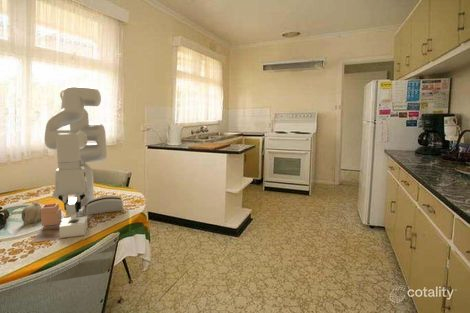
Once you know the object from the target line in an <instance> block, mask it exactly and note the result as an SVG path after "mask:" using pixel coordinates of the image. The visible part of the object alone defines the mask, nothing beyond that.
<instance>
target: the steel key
mask: <svg viewBox="0 0 470 313" xmlns="http://www.w3.org/2000/svg"><path fill="white" fill-rule="evenodd" d="M76 200H77V197H74V196H72V197H69V198H68V202H67V203H66V210H65V213H66V216H69V215H70V218H71V223H77V214H76V212H77V207H76V202H77V201H76Z"/></svg>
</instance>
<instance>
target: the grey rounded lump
mask: <svg viewBox="0 0 470 313" xmlns="http://www.w3.org/2000/svg"><path fill="white" fill-rule="evenodd" d="M41 207H42V206H41V204H40V203H39V202H36V201H33V202H32V204H31V203H30V204H29V205H27V206H25V207H24V208H23V209H22V211H21V220H22V221H23V223H22V224H23V225H24V226H27V225H28V224H29V225H30V224H35V223H38V222H39V221H41Z"/></svg>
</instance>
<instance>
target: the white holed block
mask: <svg viewBox="0 0 470 313" xmlns="http://www.w3.org/2000/svg"><path fill="white" fill-rule="evenodd" d="M65 218H66V219H64V220H63V222H62V223H61V225H60V226H59V229H60V238H64V237H72V236H81V235H84V236H85V234H86V232H87V230H88V227H89V225H87V217H77V223H71V217H65Z"/></svg>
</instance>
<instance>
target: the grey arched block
mask: <svg viewBox="0 0 470 313" xmlns="http://www.w3.org/2000/svg"><path fill="white" fill-rule="evenodd" d="M94 198H95V199H92V200H90V201H88V202H87V206H85V215H86V216H90V215H95V214H97V215H98V214H102V213H110V212H120V211H121V212H123V211H124V203H123V198H122V197H120V196H116V195H105V196H99V197H94Z"/></svg>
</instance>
